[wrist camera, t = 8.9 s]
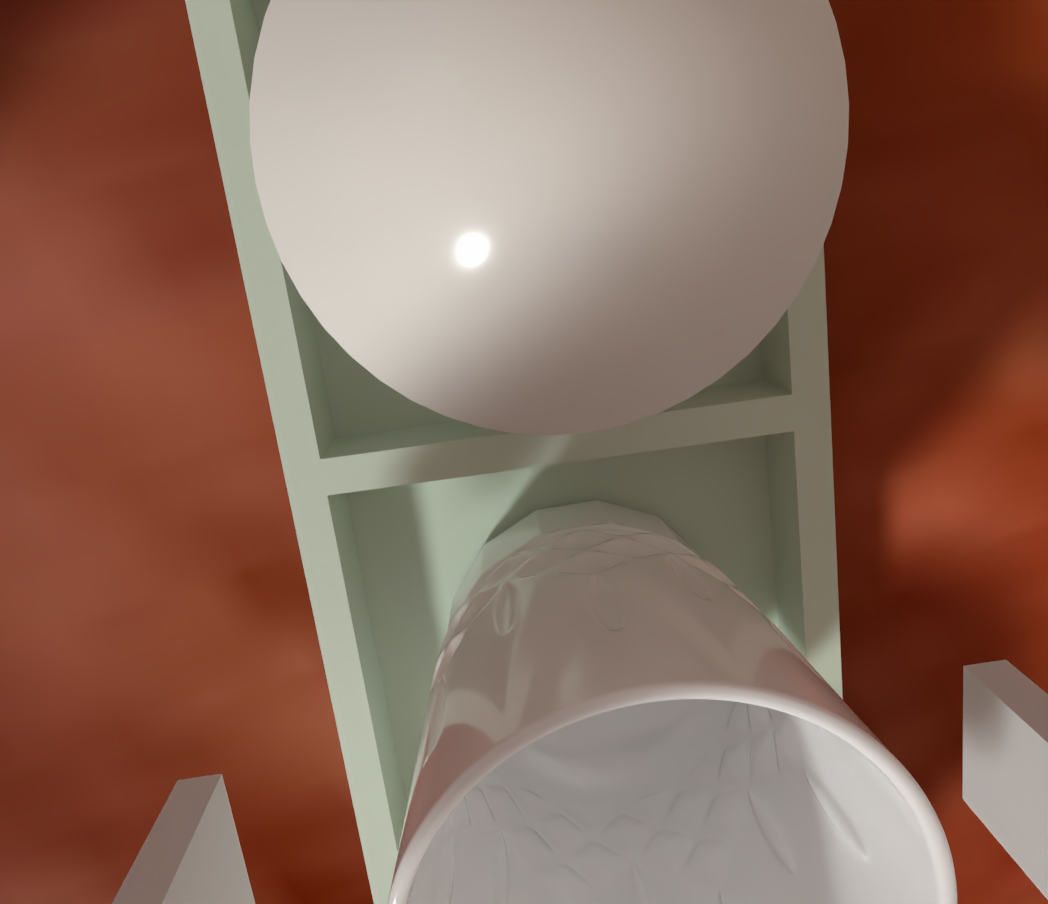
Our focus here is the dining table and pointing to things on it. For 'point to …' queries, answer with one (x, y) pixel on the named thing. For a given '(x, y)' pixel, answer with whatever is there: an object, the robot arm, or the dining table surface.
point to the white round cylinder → (548, 191)
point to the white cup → (645, 741)
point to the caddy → (501, 478)
